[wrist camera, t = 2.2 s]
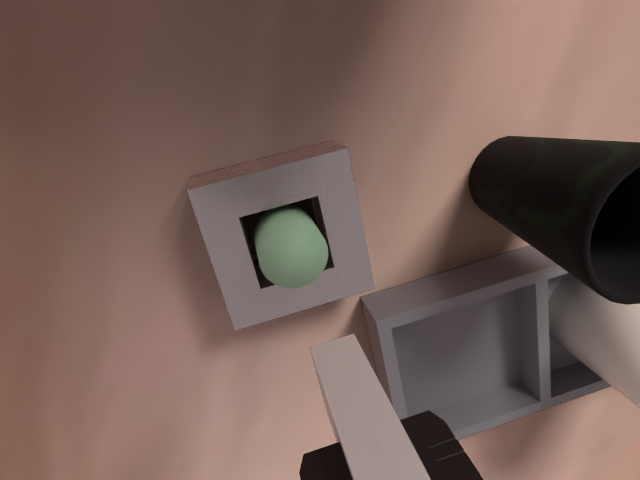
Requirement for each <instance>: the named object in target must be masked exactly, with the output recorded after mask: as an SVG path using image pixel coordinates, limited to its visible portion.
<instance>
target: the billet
mask: <svg viewBox="0 0 640 480" xmlns="http://www.w3.org/2000/svg"><path fill="white" fill-rule="evenodd" d="M548 311H549V335H550V337H551V338H552V339H553V340H554V341H555V342H557V343H558V344H559V345H560V346H562V347H563V348H564V349H565V350H567V351H568V352H569V353H570V354H572V355H573V356H574V357H576V358H577V359H578V360H579V361H581V362H582V363H583V364H584V365H586V366H587V367H588V368H589V369H591V370H592V371H593V372H595V373H596V374H597V375H598V376H600V377H601V378H602V379H603V380H605V381H606V382H607V383H608V384H610V385H611V386H612V387H613V388H615V389H616V390H617V391H619V392H620V393H621V394H622V395H624V396H625V397H626V398H627V399H629V400H630V401H631V402H632V403H634V404H635V405H636V406H637V407H639V408H640V304H629V305H625V304H620V303H615V302H611V301H609V300H607V299H605V298H604V297H602V296H600V295H599V294H597V293H596V292H594V291H593V290H592V289H590V288H589V287H588V286H586V285H585V284H583V283H582V282H581V281H579V280H578V279H577V278H575V277H574V276H572V275H571V274H570V273H569V274H568V275H566V276H565V277H564V278H563V279H562V280H561V281H560V283H559V284H558V285H557V286H556V288H555V289H554V291H553V292H552V294H551V296H550V298H549V300H548Z"/></svg>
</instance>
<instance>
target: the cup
mask: <svg viewBox="0 0 640 480" xmlns="http://www.w3.org/2000/svg"><path fill="white" fill-rule="evenodd" d="M469 188H470V193H471V196H472V198H473V200H474V202H475V204H476V205H477V206H478V207H479V208H480V209H481V210H483V211H484V212H486V213H487V214H488V215H490V216H491V217H493V218H494V219H495V220H497V221H498V222H499V223H501V224H502V225H504V226H505V227H506V228H508V229H509V230H510V231H512V232H513V233H515V234H516V235H517V236H519V237H520V238H521V239H523V240H524V241H526V242H527V243H528V244H530V245H531V246H532V247H534V248H535V249H537V250H538V251H539V252H541V253H542V254H543V255H545V256H546V257H548V258H549V259H550V260H552V261H553V262H554V263H556V264H557V265H559V266H560V267H561V268H563V269H564V270H565V271H567V272H568V273H570V274H571V275H572V276H574V277H575V278H577V279H578V280H579V281H581V282H582V283H583V284H585V285H586V286H588V287H589V288H590V289H592V290H593V291H594V292H596V293H597V294H599V295H600V296H602V297H604V298H605V299H607V300H609V301H611V302H615V303H620V304H625V305H629V304H640V143H638V142H619V141H599V140H579V139H560V138H540V137H521V136H507V137H503V138H499V139H497V140H495V141H494V142H492V143H490V144H489V145H488V146H487V147H485V148H484V149H483V150H482V151H481V153H480V154H479V155H478V156H477V158H476V160H475V162H474V164H473V166H472V169H471V172H470V176H469Z"/></svg>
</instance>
